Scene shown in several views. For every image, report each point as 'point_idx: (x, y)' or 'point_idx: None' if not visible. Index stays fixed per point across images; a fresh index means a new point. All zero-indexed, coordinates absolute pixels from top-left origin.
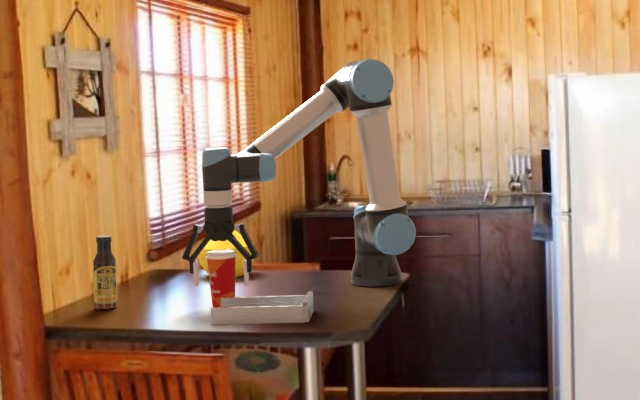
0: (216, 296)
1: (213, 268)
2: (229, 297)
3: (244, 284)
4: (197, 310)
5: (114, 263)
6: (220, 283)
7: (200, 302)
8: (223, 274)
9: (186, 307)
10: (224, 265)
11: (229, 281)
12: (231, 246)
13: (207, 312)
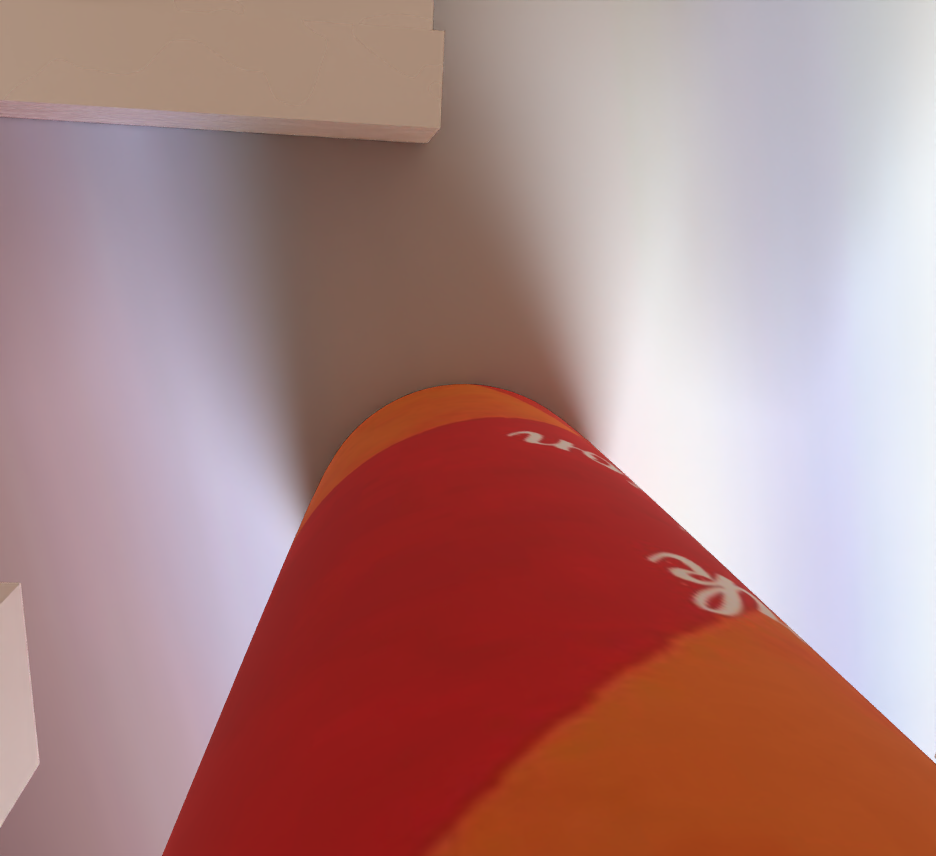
0: (565, 430)
1: (829, 692)
2: (267, 61)
3: (10, 594)
4: (783, 350)
5: None
6: (515, 479)
7: None
8: (449, 572)
9: (924, 540)
10: (409, 749)
11: (315, 564)
12: None
13: (640, 202)
